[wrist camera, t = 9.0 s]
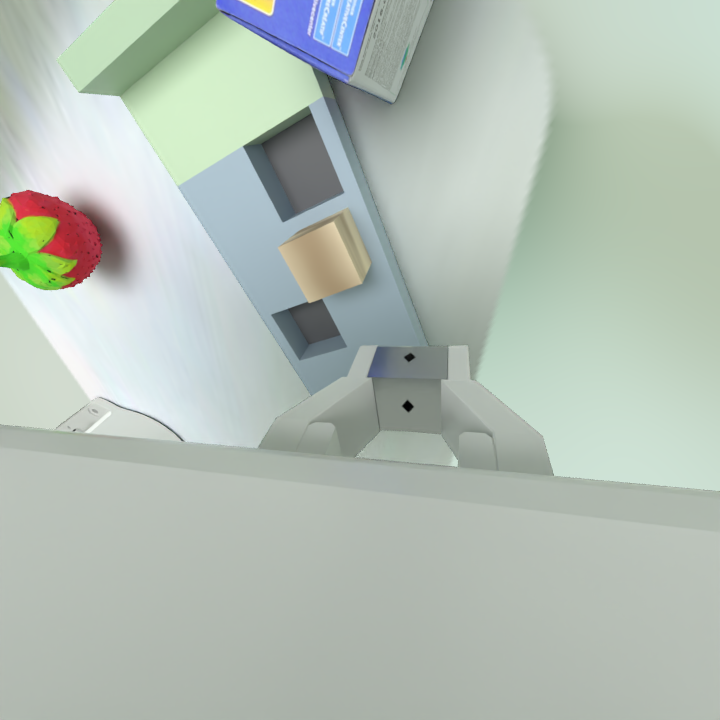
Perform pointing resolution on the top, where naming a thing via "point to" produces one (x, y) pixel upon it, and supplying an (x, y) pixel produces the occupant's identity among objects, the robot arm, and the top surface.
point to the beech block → (327, 256)
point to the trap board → (252, 166)
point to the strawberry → (47, 241)
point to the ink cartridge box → (341, 36)
